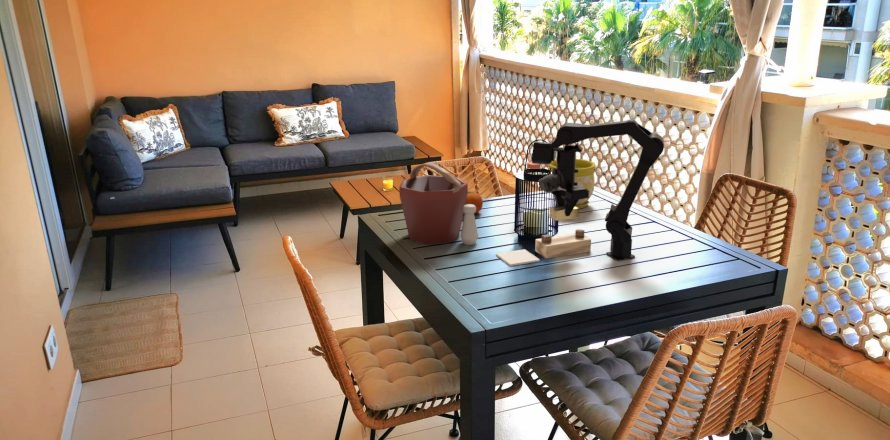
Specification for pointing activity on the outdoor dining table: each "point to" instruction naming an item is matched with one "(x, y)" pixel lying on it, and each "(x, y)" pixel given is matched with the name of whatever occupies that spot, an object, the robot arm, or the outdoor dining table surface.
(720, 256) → the outdoor dining table surface
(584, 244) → the plane body
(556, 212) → the tan slotted block
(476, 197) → the fruit
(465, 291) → the outdoor dining table surface
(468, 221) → the salt shaker
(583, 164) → the flowerpot
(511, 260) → the mat
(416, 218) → the bucket
